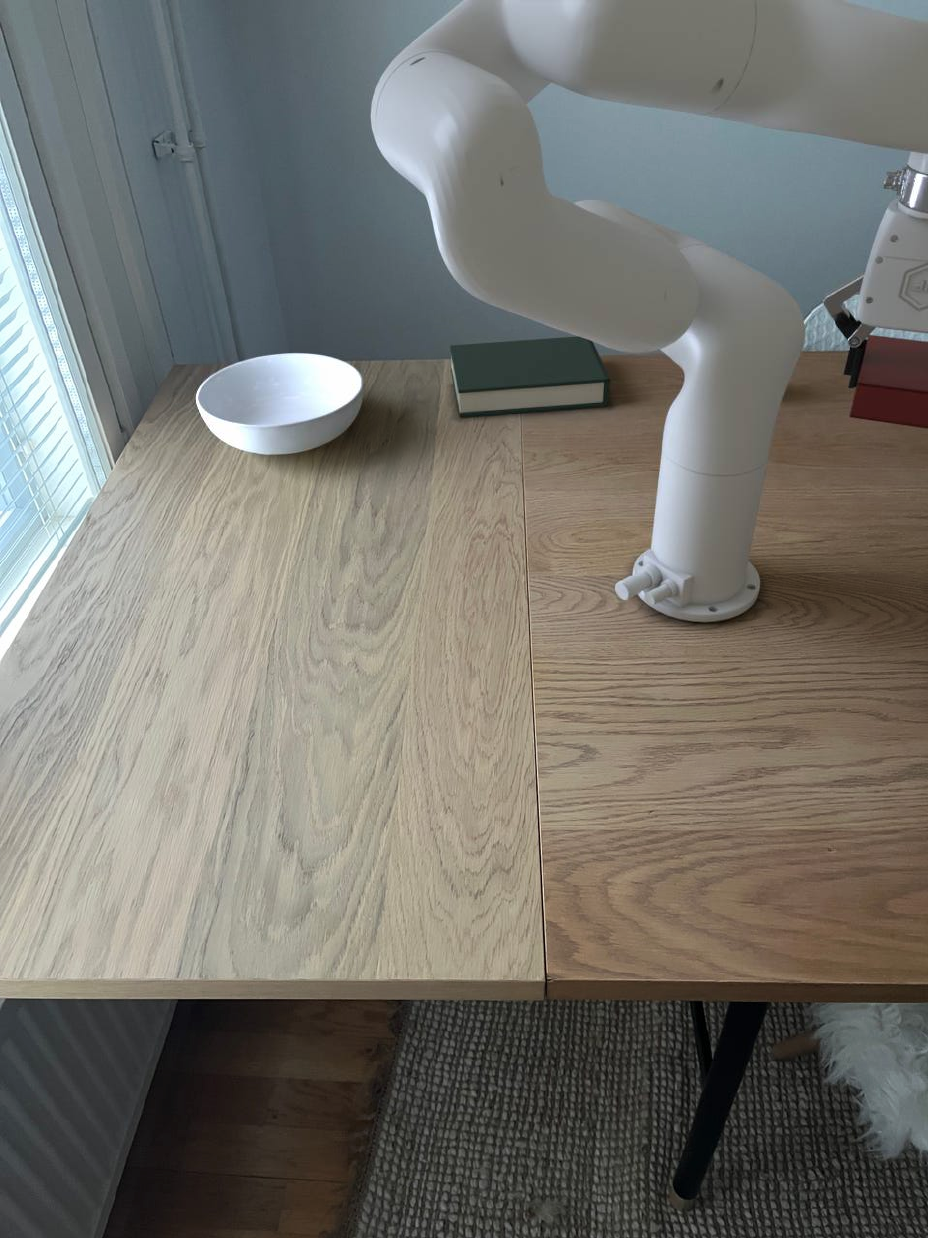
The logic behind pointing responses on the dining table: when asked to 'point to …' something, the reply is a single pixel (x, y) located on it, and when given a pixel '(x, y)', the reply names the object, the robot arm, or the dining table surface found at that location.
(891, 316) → the robot arm
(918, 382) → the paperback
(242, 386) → the serving bowl
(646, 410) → the dining table surface
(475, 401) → the hardcover
